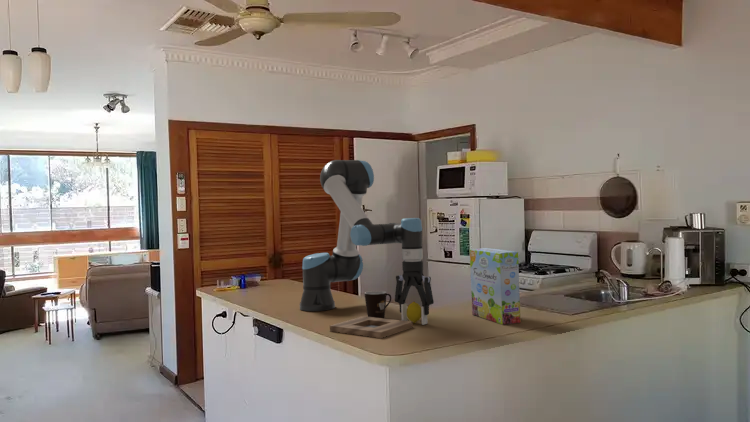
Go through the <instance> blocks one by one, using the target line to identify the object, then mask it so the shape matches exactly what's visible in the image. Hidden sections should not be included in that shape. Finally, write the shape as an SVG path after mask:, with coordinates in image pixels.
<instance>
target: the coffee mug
mask: <svg viewBox="0 0 750 422" xmlns="http://www.w3.org/2000/svg"><path fill="white" fill-rule="evenodd" d="M363 294H364V299H365V306H366V307H365V309H366V314H367V317H375V318H384V319H386V317H385V315H386V308H387V307H388V306H389V304H390V303H391V302H392V295H391V294H390V293H388V292H387V291H385V290H370V291H365V292H364V293H363ZM387 296H389V301H388V302H387ZM386 303H387V304H386Z"/></svg>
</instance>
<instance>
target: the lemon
mask: <svg viewBox="0 0 750 422" xmlns="http://www.w3.org/2000/svg"><path fill="white" fill-rule="evenodd" d="M407 320H409V321H410V322H412V324H416V323H417V322H419V321H420V320H422V315H421V305H420V304H419V303H418V302H415V301H412V302H410V304H407Z"/></svg>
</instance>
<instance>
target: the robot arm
mask: <svg viewBox="0 0 750 422" xmlns="http://www.w3.org/2000/svg"><path fill="white" fill-rule="evenodd" d="M319 176H320V177H319V181H320V185H321V188H322V189H323V191H324V192H325V193H326V194H327V195H330V197H331V199H332V200H333V202H334V203H335V205H336V206H337V208H338V209H339V211H340V214H339V225H338V233H337V242H336V247H334V248H333V250H332V255H330V253H328V252H320V253H319V252H317V253H313V254H309V255H306V256H305V257H303V258H302V267H301V269H302V285H303V286H302V288H303V290H302V291H303V292H302V295H301V300H300V302H299V310H301V311H305V312H321V311H329V310H332V309H335V308H336V302H335V300H334V296H333V294H332V290H331V283H336V282H349V281H354V280H357V279H358V278H359V277H360V276H361V275H362V273H363V269H364V262H363V260H364V259H363V258H362V255H360V251H359V250H358V248H357V246H363V247H366V246H376V245H389V244H390V245H391V244H401V256H402V257H401V259H402V260H403V261H402V262H401V263H402V264H401V265H402V267H401V268H402V274H400V275H396V276H395V281H396V282H395V283H396V284H395V285H396V287H395V293H394V302H395V303H398V304H399V313H401V315H400V316H401V321H408V317H407V307H408V303H406V302H407V301H406V300H407V298H408V294H409V291H410V289H411V287H415V289H416V290H417V292H418V293H417V294H418V296H419V298H420V301H421V302H422V306H421V305H420V307H421V315H422V316H421V325H424V326H425V325H427V324H428V315H429V314H430V306H431V305H433V304H434V302H435V301H434V296H433V291H432V284H431V280H432V279H431V276H425V275H424V271H423V270H424V261H423V258H424V253H423V249H424V248H423V225H422V219H421V218H419V217H405V218H401V220H400V221H401V222H399V223H397V222H390V223H378V224H377V223H373V222H372V221H371V220H370V218H369V217H368V215H367V213H366V212H365V210H363V208H362V205H363V197H364V196H365V195H367V191H368V189H370V188H371V187H372V186H373V184H374V181H375V177H374V176H375V175H374V169H373V167H372V166H371V164H370V163H369V162H368V161H366V160H360V159H342V160H341V159H334V160H331V161H329V162H328V163H325V165H324V166H323V168H322V169H321V172H320V175H319Z"/></svg>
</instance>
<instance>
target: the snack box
mask: <svg viewBox="0 0 750 422" xmlns="http://www.w3.org/2000/svg"><path fill="white" fill-rule="evenodd" d="M469 265H470V266H469V267H470V290H471V291H470V293H471V313H472V315H473V316H476V317H479V318H482V319H484V320H488V321H491V322H493V323H496V324H499V325H502V326H505V325H513V324H521V323H522V322H521V321H522V320H521V300H520V299H521V298H520V297H521V296H520V295H521V294H520V273H519V271H520V269H519V265H520V262H519V252H518V251H516V250H515V251H514V250H507V249H499V248H489V247H481V248H470V249H469Z"/></svg>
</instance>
